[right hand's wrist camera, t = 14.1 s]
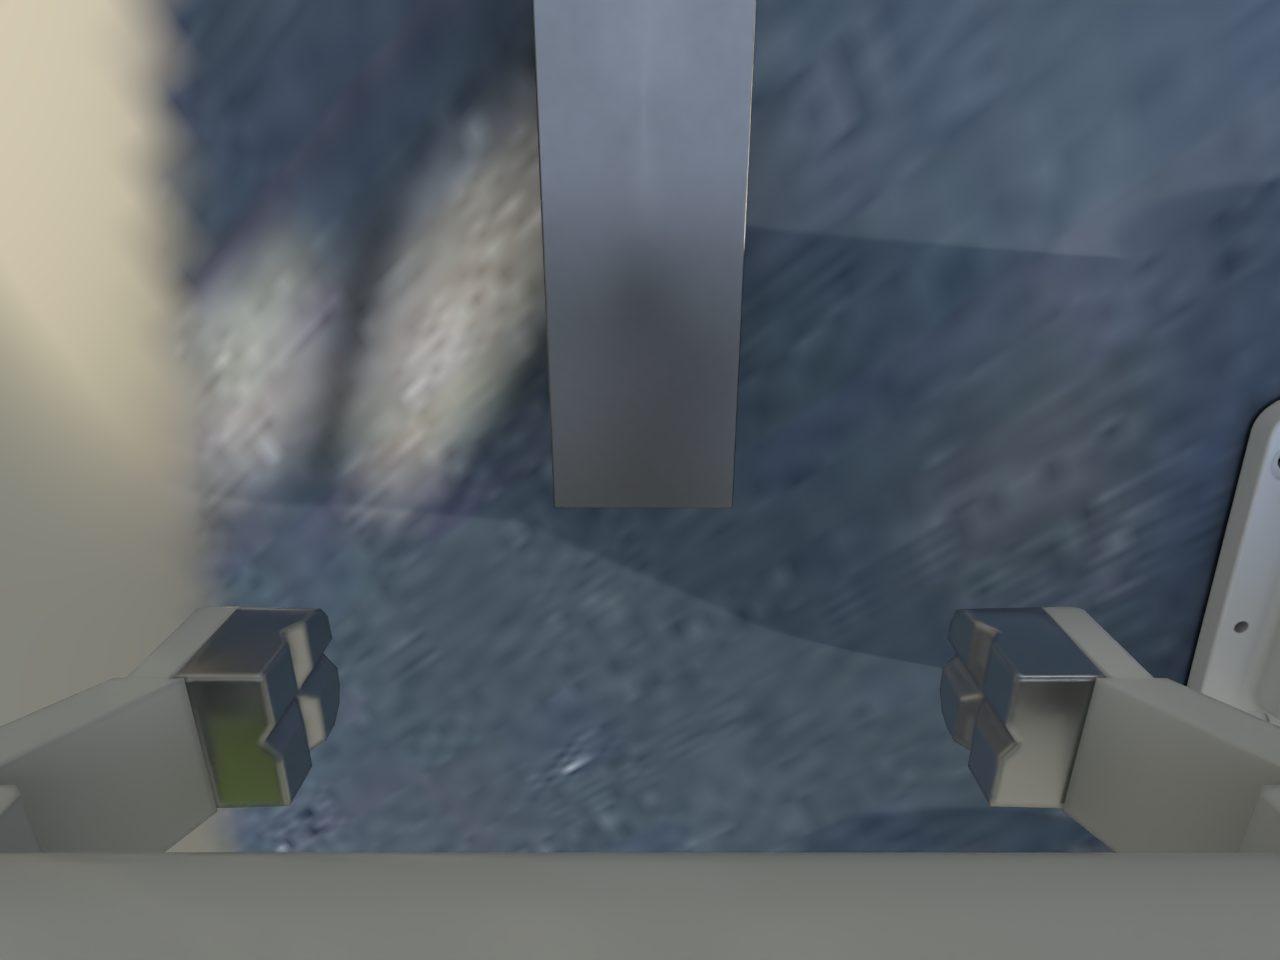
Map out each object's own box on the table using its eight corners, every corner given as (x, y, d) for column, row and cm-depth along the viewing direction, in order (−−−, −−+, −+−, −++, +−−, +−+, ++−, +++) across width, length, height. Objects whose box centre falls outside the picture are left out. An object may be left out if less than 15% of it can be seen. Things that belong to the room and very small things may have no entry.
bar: (710, 427, 32) (732, 508, 25) (575, 426, 32) (553, 508, 25) (735, -296, 24) (782, -523, 16) (552, -295, 24) (508, -523, 16)
